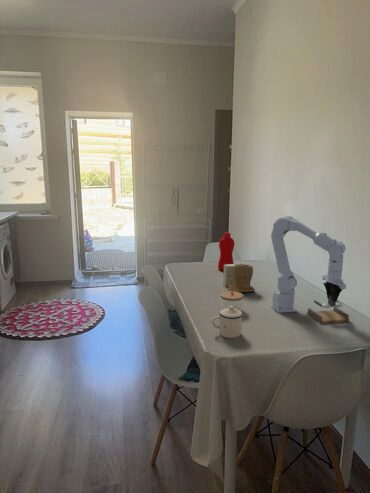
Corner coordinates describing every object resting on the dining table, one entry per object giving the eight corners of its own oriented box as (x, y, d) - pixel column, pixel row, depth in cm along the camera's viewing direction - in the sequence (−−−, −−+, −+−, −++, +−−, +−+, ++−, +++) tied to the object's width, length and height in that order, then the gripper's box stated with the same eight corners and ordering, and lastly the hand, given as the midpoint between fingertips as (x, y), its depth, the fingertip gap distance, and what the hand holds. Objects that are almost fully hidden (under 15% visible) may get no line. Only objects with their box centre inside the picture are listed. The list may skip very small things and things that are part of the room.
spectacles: (323, 308, 160) (324, 297, 159) (313, 302, 168) (314, 292, 167) (344, 306, 162) (345, 296, 161) (334, 300, 170) (335, 290, 169)
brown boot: (250, 287, 210) (251, 261, 206) (257, 294, 198) (258, 266, 195) (224, 287, 207) (225, 262, 204) (229, 294, 196) (230, 267, 193)
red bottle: (236, 268, 248) (237, 232, 243) (229, 272, 239) (230, 234, 234) (223, 266, 253) (225, 230, 248) (216, 270, 244) (217, 232, 239)
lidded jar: (216, 307, 177) (216, 289, 175) (235, 305, 181) (236, 286, 179) (226, 316, 167) (227, 296, 165) (247, 313, 171) (248, 293, 169)
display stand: (320, 323, 160) (320, 317, 159) (307, 314, 170) (307, 308, 170) (348, 321, 163) (349, 315, 162) (334, 312, 173) (334, 306, 173)
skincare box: (225, 287, 209) (226, 266, 206) (222, 284, 213) (223, 264, 211) (235, 286, 210) (236, 265, 208) (232, 284, 215) (233, 263, 212)
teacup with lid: (239, 329, 154) (240, 302, 151) (243, 338, 145) (244, 310, 142) (210, 328, 153) (211, 302, 151) (212, 338, 145) (213, 310, 142)
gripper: (353, 274, 154) (350, 305, 157) (333, 265, 168) (330, 294, 170) (338, 274, 152) (335, 306, 155) (319, 266, 166) (316, 294, 169)
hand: (332, 299), depth 163 cm, fingers closed on spectacles, 3 cm apart
